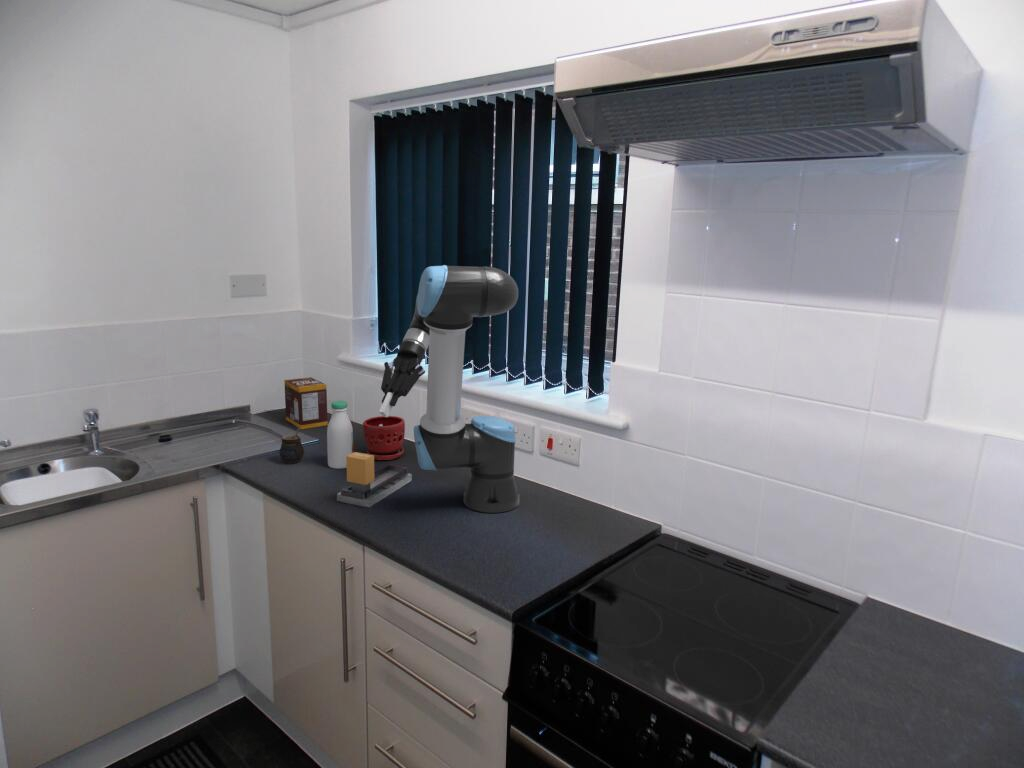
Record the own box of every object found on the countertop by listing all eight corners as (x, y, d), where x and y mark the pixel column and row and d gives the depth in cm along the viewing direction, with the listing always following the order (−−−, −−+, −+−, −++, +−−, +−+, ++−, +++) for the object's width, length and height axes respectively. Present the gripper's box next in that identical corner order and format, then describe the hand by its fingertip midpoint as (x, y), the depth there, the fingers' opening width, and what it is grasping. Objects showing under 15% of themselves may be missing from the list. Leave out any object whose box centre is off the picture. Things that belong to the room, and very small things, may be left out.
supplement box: (311, 415, 258) (310, 376, 255) (328, 425, 247) (326, 384, 243) (285, 419, 252) (283, 379, 249) (300, 429, 240) (299, 387, 237)
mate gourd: (275, 464, 204) (273, 432, 202) (287, 456, 212) (286, 426, 210) (296, 466, 203) (295, 434, 201) (308, 458, 211) (307, 428, 208)
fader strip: (382, 474, 199) (382, 463, 198) (413, 480, 195) (413, 468, 194) (335, 501, 178) (335, 488, 178) (368, 508, 175) (368, 495, 174)
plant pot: (399, 448, 224) (399, 413, 221) (409, 460, 212) (409, 424, 209) (360, 451, 219) (359, 416, 216) (367, 464, 207) (367, 427, 204)
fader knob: (356, 486, 183) (355, 451, 180) (374, 490, 180) (374, 454, 178) (347, 491, 179) (346, 455, 177) (366, 495, 177) (365, 459, 175)
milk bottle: (350, 469, 202) (348, 405, 197) (324, 468, 202) (322, 405, 198) (356, 461, 209) (355, 399, 205) (332, 460, 209) (330, 398, 205)
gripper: (437, 356, 198) (408, 424, 186) (399, 353, 203) (369, 418, 191) (428, 341, 192) (398, 410, 180) (390, 337, 197) (357, 404, 185)
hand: (383, 414), depth 186 cm, fingers closed
